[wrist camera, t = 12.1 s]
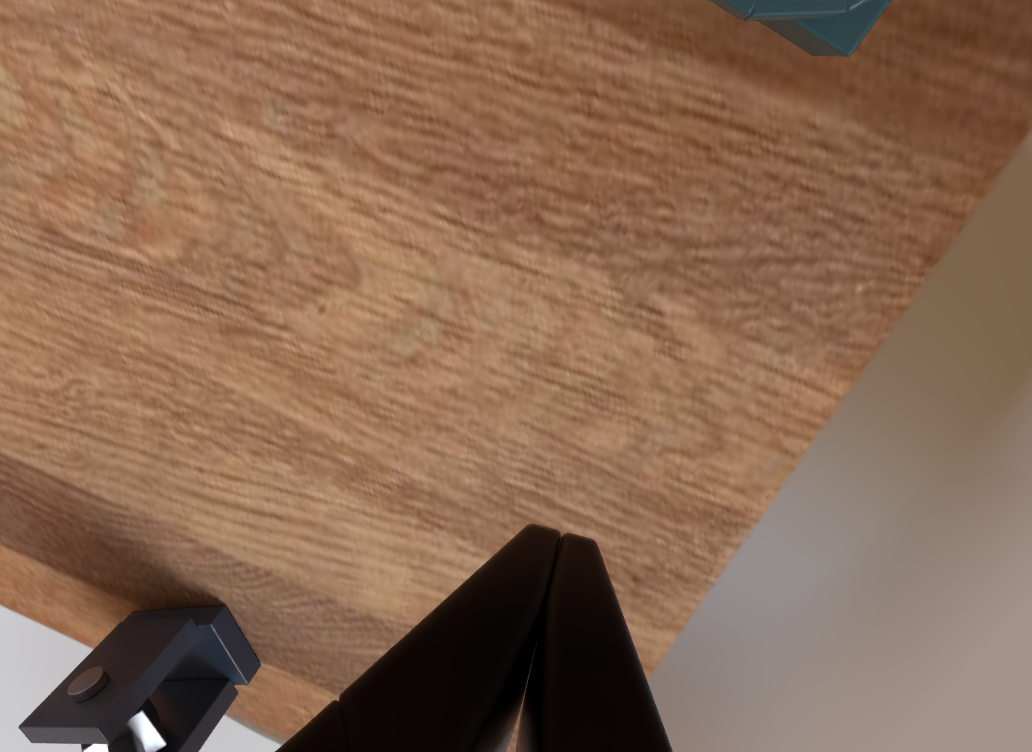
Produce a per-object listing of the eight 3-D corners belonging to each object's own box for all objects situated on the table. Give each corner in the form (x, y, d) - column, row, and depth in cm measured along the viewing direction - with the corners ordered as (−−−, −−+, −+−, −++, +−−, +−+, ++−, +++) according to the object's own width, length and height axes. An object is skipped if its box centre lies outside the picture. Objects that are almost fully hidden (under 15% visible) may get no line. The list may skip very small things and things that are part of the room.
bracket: (216, 588, 30) (104, 718, 24) (270, 679, 33) (180, 818, 27) (121, 596, 32) (-4, 718, 26) (179, 681, 35) (75, 811, 29)
